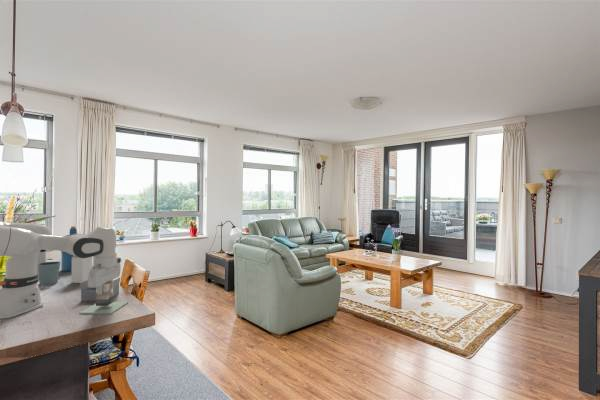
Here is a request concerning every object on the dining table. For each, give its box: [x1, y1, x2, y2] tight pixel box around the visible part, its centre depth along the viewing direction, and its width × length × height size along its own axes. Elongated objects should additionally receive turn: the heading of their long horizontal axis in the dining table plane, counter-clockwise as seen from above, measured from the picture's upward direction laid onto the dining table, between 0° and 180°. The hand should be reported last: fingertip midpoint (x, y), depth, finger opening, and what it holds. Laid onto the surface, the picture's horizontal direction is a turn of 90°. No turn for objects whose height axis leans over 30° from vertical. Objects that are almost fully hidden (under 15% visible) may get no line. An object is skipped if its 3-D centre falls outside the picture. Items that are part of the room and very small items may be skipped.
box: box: [95, 281, 114, 306], centre depth 147 cm, size 5×5×10 cm
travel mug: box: [37, 250, 47, 280], centre depth 196 cm, size 6×7×20 cm
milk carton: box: [71, 256, 93, 284], centre depth 190 cm, size 7×7×19 cm
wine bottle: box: [60, 225, 78, 273], centre depth 219 cm, size 14×13×30 cm
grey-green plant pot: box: [38, 261, 61, 287], centre depth 186 cm, size 10×10×12 cm
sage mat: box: [79, 301, 129, 315], centre depth 147 cm, size 14×14×1 cm
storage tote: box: [79, 276, 121, 302], centre depth 162 cm, size 12×13×9 cm
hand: (104, 291), depth 147 cm, fingers closed on box, 5 cm apart
